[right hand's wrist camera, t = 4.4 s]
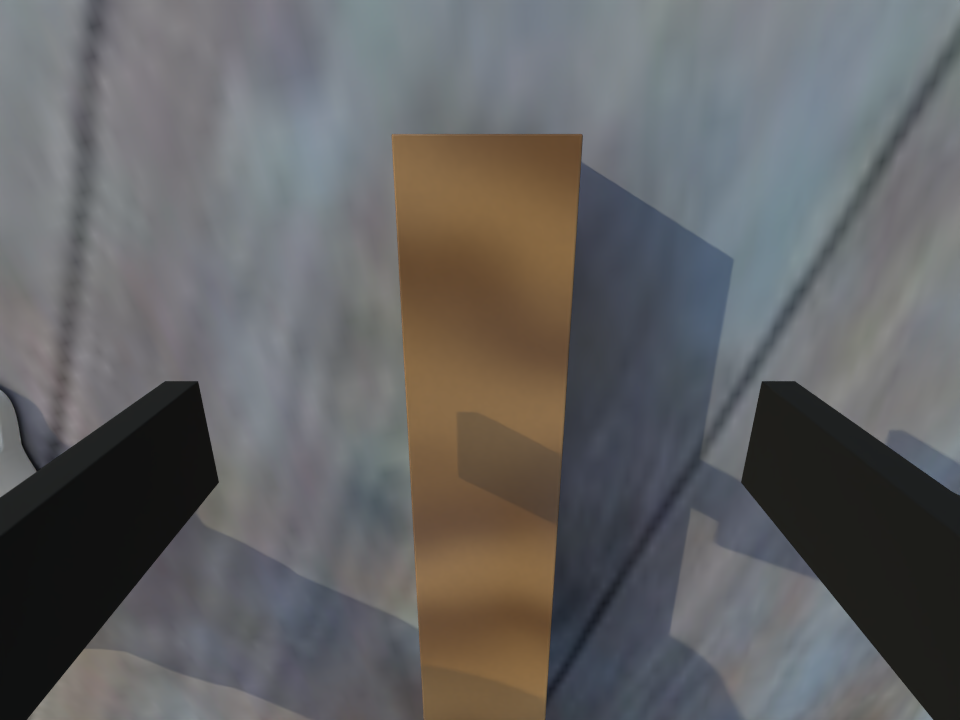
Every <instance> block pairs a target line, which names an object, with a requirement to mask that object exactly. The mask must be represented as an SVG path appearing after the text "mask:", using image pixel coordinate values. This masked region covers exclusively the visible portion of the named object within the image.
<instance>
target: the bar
mask: <svg viewBox="0 0 960 720" xmlns="http://www.w3.org/2000/svg"><path fill="white" fill-rule="evenodd" d="M582 140H583V135H582V134H392V151H393V169H394V187H395V205H396V224H397V242H398V260H399V278H400V296H401V314H402V333H403V351H404V369H405V387H406V405H407V423H408V441H409V460H410V478H411V496H412V514H413V532H414V550H415V569H416V587H417V605H418V623H419V641H420V659H421V678H422V696H423V714H424V720H545V714H546V699H547V683H548V668H549V652H550V637H551V621H552V606H553V590H554V575H555V559H556V544H557V528H558V513H559V497H560V482H561V466H562V451H563V435H564V420H565V404H566V388H567V373H568V357H569V342H570V326H571V311H572V295H573V280H574V264H575V249H576V233H577V218H578V202H579V187H580V171H581V156H582Z"/></svg>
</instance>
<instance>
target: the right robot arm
mask: <svg viewBox="0 0 960 720" xmlns="http://www.w3.org/2000/svg"><path fill="white" fill-rule="evenodd" d="M218 483H219V481H218V476H217V471H216V466H215V461H214V457H213V452H212V447H211V442H210V437H209V432H208V427H207V423H206V418H205V413H204V408H203V403H202V398H201V393H200V388H199V384H198V381H165V382H164V383H162V384H161V385H159V386H158V387H156V388H155V389H154V390H152V391H151V392H149V393H148V394H146V395H145V396H144V397H142V398H141V399H139V400H138V401H136V402H135V403H134V404H132V405H131V406H129V407H128V408H127V409H125V410H124V411H122V412H121V413H119V414H118V415H117V416H115V417H114V418H112V419H111V420H109V421H108V422H107V423H105V424H104V425H102V426H101V427H100V428H98V429H97V430H95V431H94V432H92V433H91V434H90V435H88V436H87V437H85V438H84V439H82V440H81V441H80V442H78V443H77V444H75V445H74V446H73V447H71V448H70V449H68V450H67V451H65V452H64V453H63V454H61V455H60V456H58V457H57V458H55V459H54V460H53V461H51V462H50V463H48V464H47V465H46V466H44V467H43V468H41V469H40V470H38V471H37V472H36V473H34V474H33V475H31V476H30V477H28V478H27V479H26V480H24V481H23V482H21V483H20V484H18V485H17V486H16V487H14V488H13V489H11V490H10V491H9V492H7V493H6V494H4V495H3V496H1V497H0V720H27V719H28V717H29V716H30V715H31V714H32V712H33V711H34V710H35V709H36V707H37V706H38V705H39V704H40V703H41V701H42V700H43V699H44V698H45V696H46V695H47V694H48V693H49V691H50V690H51V689H52V688H53V687H54V685H55V684H56V683H57V682H58V680H59V679H60V678H61V677H62V675H63V674H64V673H65V672H66V670H67V669H68V668H69V667H70V666H71V664H72V663H73V662H74V661H75V659H76V658H77V657H78V656H79V654H80V653H81V652H82V651H83V649H84V648H85V647H86V646H87V645H88V643H89V642H90V641H91V640H92V638H93V637H94V636H95V635H96V633H97V632H98V631H99V630H100V628H101V627H102V626H103V625H104V624H105V622H106V621H107V620H108V619H109V617H110V616H111V615H112V614H113V612H114V611H115V610H116V609H117V607H118V606H119V605H120V604H121V603H122V601H123V600H124V599H125V598H126V596H127V595H128V594H129V593H130V591H131V590H132V589H133V588H134V586H135V585H136V584H137V583H138V582H139V580H140V579H141V578H142V577H143V575H144V574H145V573H146V572H147V570H148V569H149V568H150V567H151V566H152V564H153V563H154V562H155V561H156V559H157V558H158V557H159V556H160V554H161V553H162V552H163V551H164V549H165V548H166V547H167V546H168V545H169V543H170V542H171V541H172V540H173V538H174V537H175V536H176V535H177V533H178V532H179V531H180V530H181V528H182V527H183V526H184V525H185V524H186V522H187V521H188V520H189V519H190V517H191V516H192V515H193V514H194V512H195V511H196V510H197V509H198V507H199V506H200V505H201V504H202V503H203V501H204V500H205V499H206V498H207V496H208V495H209V494H210V493H211V491H212V490H213V489H214V488H215V486H216V485H217V484H218ZM741 483H742V484H743V485H744V486H745V488H746V489H747V490H748V491H749V493H750V494H751V495H752V496H753V498H754V499H755V500H756V501H757V503H758V504H759V505H760V506H761V507H762V509H763V510H764V511H765V512H766V514H767V515H768V516H769V517H770V519H771V520H772V521H773V522H774V524H775V525H776V526H777V527H778V528H779V530H780V531H781V532H782V533H783V535H784V536H785V537H786V538H787V540H788V541H789V542H790V543H791V545H792V546H793V547H794V548H795V549H796V551H797V552H798V553H799V554H800V556H801V557H802V558H803V559H804V561H805V562H806V563H807V564H808V566H809V567H810V568H811V569H812V570H813V572H814V573H815V574H816V575H817V577H818V578H819V579H820V580H821V582H822V583H823V584H824V585H825V586H826V588H827V589H828V590H829V591H830V593H831V594H832V595H833V596H834V598H835V599H836V600H837V601H838V603H839V604H840V605H841V606H842V607H843V609H844V610H845V611H846V612H847V614H848V615H849V616H850V617H851V619H852V620H853V621H854V622H855V624H856V625H857V626H858V627H859V628H860V630H861V631H862V632H863V633H864V635H865V636H866V637H867V638H868V640H869V641H870V642H871V643H872V645H873V646H874V647H875V648H876V649H877V651H878V652H879V653H880V654H881V656H882V657H883V658H884V659H885V661H886V662H887V663H888V664H889V666H890V667H891V668H892V669H893V670H894V672H895V673H896V674H897V675H898V677H899V678H900V679H901V680H902V682H903V683H904V684H905V685H906V687H907V688H908V689H909V690H910V691H911V693H912V694H913V695H914V696H915V698H916V699H917V700H918V701H919V703H920V704H921V705H922V706H923V707H924V709H925V710H926V711H927V712H928V714H929V715H930V716H931V717H932V719H933V720H960V495H958V494H955V493H953V492H951V491H950V490H949V489H947V488H946V487H944V486H943V485H942V484H940V483H939V482H937V481H936V480H934V479H933V478H932V477H930V476H929V475H927V474H926V473H924V472H923V471H922V470H920V469H919V468H917V467H916V466H914V465H913V464H912V463H910V462H909V461H907V460H906V459H905V458H903V457H902V456H900V455H899V454H897V453H896V452H895V451H893V450H892V449H890V448H889V447H887V446H886V445H885V444H883V443H882V442H880V441H879V440H878V439H876V438H875V437H873V436H872V435H870V434H869V433H868V432H866V431H865V430H863V429H862V428H860V427H859V426H858V425H856V424H855V423H853V422H852V421H851V420H849V419H848V418H846V417H845V416H843V415H842V414H841V413H839V412H838V411H836V410H835V409H833V408H832V407H831V406H829V405H828V404H826V403H825V402H824V401H822V400H821V399H819V398H818V397H816V396H815V395H814V394H812V393H811V392H809V391H808V390H806V389H805V388H804V387H802V386H801V385H799V384H798V383H796V382H795V381H762V384H761V388H760V393H759V398H758V403H757V408H756V413H755V418H754V422H753V427H752V432H751V437H750V442H749V447H748V452H747V457H746V461H745V466H744V471H743V476H742V481H741Z"/></svg>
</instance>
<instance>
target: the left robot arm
mask: <svg viewBox="0 0 960 720" xmlns="http://www.w3.org/2000/svg"><path fill="white" fill-rule="evenodd" d="M36 472H37V471H36V469H35V468H34V466H33V465H32V463H31V462H30V460H29V458H28V457H27V455H26V453H25V451H24V449H23V447H22V444H21V438H20V432H19V426H18V421H17V417H16V413H15V410H14V407H13V405H12V403H11V401H10V399H9V398H8V397H7V395H6V394H5V393H4V392H3V391H1V390H0V497H1V496H3V495H4V494H6V493H7V492H9V491H10V490H11V489H13V488H14V487H16V486H17V485H18V484H20V483H21V482H23V481H24V480H26V479H27V478H28V477H30V476H31V475H33V474H34V473H36Z"/></svg>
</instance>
